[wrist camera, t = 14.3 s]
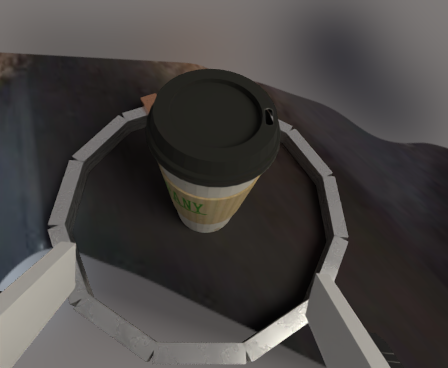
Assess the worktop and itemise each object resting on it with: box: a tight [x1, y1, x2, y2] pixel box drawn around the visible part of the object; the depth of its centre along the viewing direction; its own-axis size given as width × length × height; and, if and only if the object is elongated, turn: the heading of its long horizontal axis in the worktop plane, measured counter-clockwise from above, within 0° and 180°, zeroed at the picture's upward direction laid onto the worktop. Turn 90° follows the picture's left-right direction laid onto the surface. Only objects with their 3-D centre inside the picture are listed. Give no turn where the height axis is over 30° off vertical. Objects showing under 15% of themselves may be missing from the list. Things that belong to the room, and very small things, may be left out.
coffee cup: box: [146, 69, 281, 233], centre depth 26 cm, size 10×10×15 cm
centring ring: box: [48, 93, 348, 364], centre depth 31 cm, size 31×30×3 cm
